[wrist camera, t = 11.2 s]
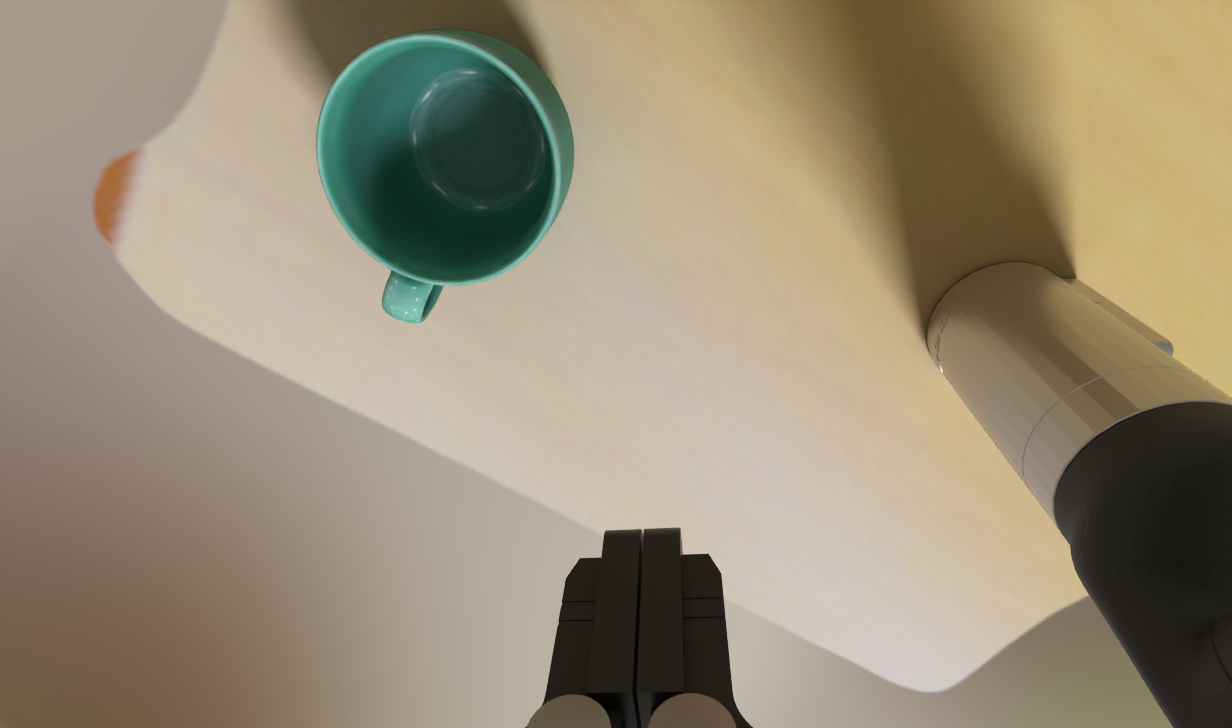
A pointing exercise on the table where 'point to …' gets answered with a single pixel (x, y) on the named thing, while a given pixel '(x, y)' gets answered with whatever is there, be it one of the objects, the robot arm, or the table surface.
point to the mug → (443, 160)
